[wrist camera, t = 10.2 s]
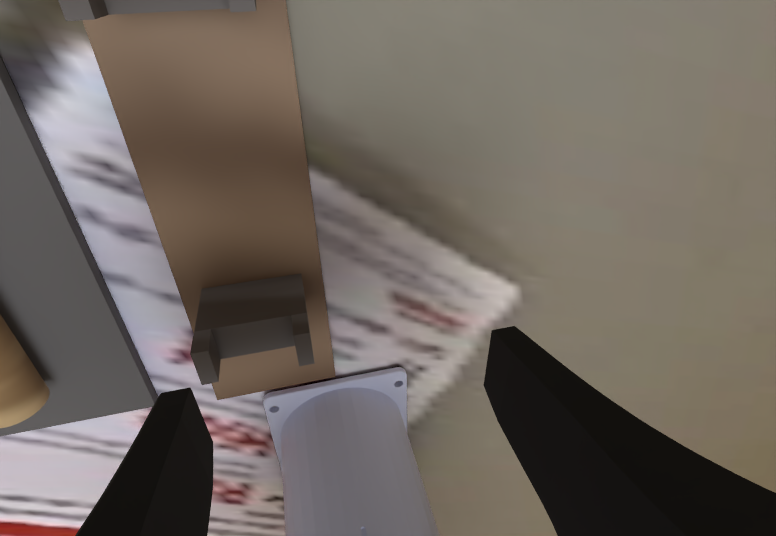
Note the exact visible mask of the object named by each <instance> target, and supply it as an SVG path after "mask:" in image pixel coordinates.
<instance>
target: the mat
mask: <svg viewBox="0 0 776 536" xmlns="http://www.w3.org/2000/svg"><path fill="white" fill-rule="evenodd" d="M0 314H1V316H2V317H3V319H4V320H5V322H6V323H7V325H8V327H9V328H10V330H11V331H12V333H13V334H14V336H15V337H16V339H17V340H18V342H19V343H20V345H21V347H22V348H23V350H24V351H25V353H26V354H27V356H28V357H29V359H30V360H31V362H32V363H33V365H34V367H35V368H36V370H37V371H38V373H39V374H40V376H41V377H42V379H43V380H44V382H45V383H46V385H47V387H48V388H49V391H50V394H49V398H48V400H47V401H46V403H45V404H44V406H43V407H42V408H41V409H40V410H39V411H37V412H36V413H35V414H34V415H32V416H31V417H29V418H28V419H26V420H24V421H22V422H20V423H18V424H15V425H13V426H9V427H5V428H0V436H4V435H9V434H15V433H20V432H25V431H30V430H35V429H40V428H45V427H51V426H56V425H61V424H66V423H71V422H76V421H81V420H87V419H92V418H97V417H102V416H107V415H112V414H117V413H123V412H128V411H133V410H138V409H143V408H148V407H153V406H154V404H155V402H156V400H157V398H158V396H157V394H156V392H155V390H154V388H153V386H152V383H151V381H150V379H149V377H148V375H147V373H146V370H145V368H144V366H143V364H142V362H141V360H140V357H139V355H138V353H137V351H136V349H135V347H134V344H133V342H132V340H131V338H130V336H129V334H128V331H127V329H126V327H125V325H124V323H123V321H122V318H121V316H120V314H119V312H118V310H117V308H116V305H115V303H114V301H113V299H112V297H111V295H110V292H109V290H108V288H107V286H106V284H105V282H104V280H103V277H102V275H101V273H100V271H99V269H98V267H97V264H96V262H95V260H94V258H93V256H92V254H91V251H90V249H89V247H88V245H87V243H86V241H85V238H84V236H83V234H82V232H81V230H80V228H79V225H78V223H77V221H76V219H75V217H74V215H73V212H72V210H71V208H70V206H69V204H68V202H67V199H66V197H65V195H64V193H63V191H62V189H61V186H60V184H59V182H58V180H57V178H56V176H55V174H54V171H53V169H52V167H51V165H50V163H49V161H48V158H47V156H46V154H45V152H44V150H43V148H42V145H41V143H40V141H39V139H38V137H37V135H36V132H35V130H34V128H33V126H32V124H31V122H30V119H29V117H28V115H27V113H26V111H25V109H24V106H23V104H22V102H21V100H20V98H19V96H18V93H17V91H16V89H15V87H14V85H13V83H12V80H11V78H10V76H9V74H8V72H7V70H6V67H5V65H4V63H3V61H2V59H1V57H0Z"/></svg>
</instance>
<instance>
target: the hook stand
mask: <svg viewBox="0 0 776 536" xmlns="http://www.w3.org/2000/svg"><path fill="white" fill-rule="evenodd" d="M58 1H59V4H60V6H61V9H62V12H63V14H64V17H65V20H66V21H76V20H83V23H84V26H85V29H86V31H87V34H88V37H89V40H90V43H91V46H92V48H93V51H94V54H95V57H96V60H97V62H98V65H99V68H100V71H101V74H102V77H103V79H104V82H105V85H106V88H107V91H108V93H109V96H110V99H111V102H112V105H113V107H114V110H115V113H116V116H117V119H118V122H119V124H120V127H121V130H122V133H123V136H124V138H125V141H126V144H127V147H128V150H129V152H130V155H131V158H132V161H133V164H134V167H135V169H136V172H137V175H138V178H139V181H140V183H141V186H142V189H143V192H144V195H145V198H146V200H147V203H148V206H149V209H150V212H151V214H152V217H153V220H154V223H155V226H156V228H157V231H158V234H159V237H160V240H161V243H162V245H163V248H164V251H165V254H166V257H167V259H168V262H169V265H170V268H171V271H172V273H173V276H174V279H175V282H176V285H177V288H178V290H179V293H180V296H181V299H182V302H183V304H184V307H185V310H186V313H187V316H188V319H189V321H190V324H191V327H192V330H193V333H194V336H193V341H192V347H191V353H190V354H191V357H192V360H193V362H194V365H195V368H196V370H197V373H198V376H199V378H200V381H201V384H202V385H204V384H210V383H212V386H213V389H214V392H215V394H216V397H217V400H220V399H225V398H230V397H235V396H240V395H246V394H251V393H256V392H261V391H266V390H271V389H276V388H281V387H286V386H291V385H296V384H302V383H307V382H312V381H317V380H322V379H327V378H332V377H336V376H335V368H334V360H333V353H332V345H331V338H330V330H329V323H328V315H327V308H326V300H325V293H324V285H323V278H322V270H321V263H320V255H319V248H318V240H317V233H316V225H315V218H314V210H313V202H312V195H311V187H310V180H309V172H308V165H307V157H306V150H305V142H304V135H303V127H302V120H301V112H300V105H299V97H298V90H297V82H296V75H295V67H294V60H293V52H292V44H291V37H290V29H289V22H288V14H287V7H286V0H58Z"/></svg>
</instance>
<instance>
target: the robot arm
mask: <svg viewBox="0 0 776 536" xmlns="http://www.w3.org/2000/svg"><path fill="white" fill-rule="evenodd" d="M397 381H399V382H397ZM484 387H485V389H486V392H487V395H488V397H489V400H490V403H491V405H492V408H493V410H494V412H495V415H496V417H497V420H498V422H499V424H500V426H501V428H502V430H503V432H504V434H505V435H506V437H507V439H508V441H509V443H510V445H511V447H512V449H513V450H514V452H515V454H516V456H517V458H518V460H519V461H520V463H521V465H522V467H523V469H524V471H525V472H526V474H527V476H528V478H529V480H530V481H531V483H532V485H533V487H534V489H535V491H536V492H537V494H538V496H539V498H540V500H541V502H542V503H543V505H544V507H545V509H546V511H547V513H548V515H549V518H550V520H551V522H552V524H553V526H554V528H555V531H556V533H557V535H558V536H776V493H774V492H772V491H770V490H768V489H766V488H763V487H761V486H759V485H757V484H755V483H753V482H751V481H749V480H747V479H745V478H743V477H741V476H739V475H737V474H735V473H733V472H731V471H729V470H727V469H725V468H723V467H721V466H720V465H718V464H716V463H714V462H712V461H710V460H708V459H706V458H704V457H702V456H701V455H699V454H697V453H695V452H693V451H692V450H690V449H688V448H686V447H684V446H683V445H681V444H679V443H678V442H676V441H674V440H672V439H671V438H669V437H667V436H666V435H664V434H662V433H661V432H659V431H657V430H656V429H654V428H652V427H651V426H649V425H648V424H646V423H644V422H643V421H641V420H640V419H638V418H637V417H635V416H634V415H632V414H631V413H629V412H628V411H626V410H625V409H623V408H622V407H620V406H619V405H617V404H616V403H614V402H613V401H611V400H610V399H609V398H607V397H606V396H604V395H603V394H601V393H600V392H599V391H597V390H596V389H595V388H593V387H592V386H590V385H589V384H588V383H586V382H585V381H584V380H582V379H581V378H580V377H578V376H577V375H576V374H574V373H573V372H572V371H571V370H569V369H568V368H567V367H565V366H564V365H563V364H562V363H560V362H559V361H558V360H556V359H555V358H554V357H553V356H551V355H550V354H549V353H548V352H546V351H545V350H544V349H543V348H541V347H540V346H539V345H538V344H536V343H535V342H534V341H533V340H531V339H530V338H529V337H528V336H526V335H525V334H524V333H523V332H521V331H520V330H519V329H518V328H516V327H515V326H512V327H507V328H502V329H496V330H492V333H491V340H490V347H489V354H488V360H487V367H486V374H485V380H484ZM263 405H264V409H265V413H266V416H267V420H268V424H269V427H270V431H271V435H272V438H273V442H274V446H275V449H276V453H277V457H278V460H279V464H280V468H281V471H282V475H283V494H284V514H285V534H286V536H440V535H439V532H438V528H437V525H436V522H435V519H434V516H433V513H432V510H431V507H430V503H429V500H428V497H427V494H426V491H425V488H424V485H423V482H422V478H421V475H420V472H419V469H418V466H417V463H416V460H415V457H414V453H413V450H412V447H411V444H410V441H409V438H408V435H407V375H406V372H405V369H403V368H401V367H396V368H391V369H386V370H381V371H376V372H370V373H365V374H360V375H355V376H350V377H345V378H340V379H335V380H330V381H325V382H320V383H315V384H310V385H305V386H300V387H294V388H289V389H284V390H279V391H274V392H270V393H267V394H266V395H265V396H264V397H263ZM273 406H276V407H273ZM212 490H213V441H212V439H211V436H210V434H209V431H208V429H207V426H206V424H205V422H204V419H203V417H202V414H201V412H200V409H199V407H198V405H197V402H196V400H195V397H194V395H193V392H192V390H191V388H185V389H180V390H175V391H170V392H164V393H161V394H160V396H159V397H158V398H157V400H156V402H155V404H154V406H153V407H152V409H151V411H150V413H149V415H148V417H147V419H146V420H145V422H144V424H143V426H142V428H141V430H140V431H139V433H138V435H137V437H136V439H135V440H134V442H133V444H132V446H131V447H130V449H129V451H128V453H127V454H126V456H125V458H124V459H123V461H122V463H121V464H120V466H119V468H118V469H117V471H116V473H115V474H114V476H113V478H112V479H111V481H110V483H109V484H108V486H107V488H106V489H105V491H104V493H103V494H102V496H101V497H100V499H99V501H98V502H97V504H96V505H95V507H94V508H93V510H92V511H91V513H90V514H89V516H88V517H87V519H86V520H85V522H84V523H83V525H82V526H81V528H80V529H79V531H78V532H77V534H76V535H75V536H207V533H208V525H209V516H210V508H211V499H212Z"/></svg>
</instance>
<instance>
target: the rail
mask: <svg viewBox="0 0 776 536" xmlns="http://www.w3.org/2000/svg"><path fill="white" fill-rule="evenodd" d="M49 394H50V391H49V388H48V387H47V385H46V383H45V382H44V380H43V379H42V377H41V376H40V374H39V373H38V371H37V370H36V368H35V367H34V365H33V363H32V362H31V360H30V359H29V357H28V356H27V354H26V353H25V351H24V350H23V348H22V347H21V345H20V343H19V342H18V340H17V339H16V337H15V336H14V334H13V333H12V331H11V330H10V328H9V327H8V325H7V323H6V322H5V320H4V319H3V317H2V316H1V314H0V428H5V427H9V426H13V425H15V424H18V423H20V422H22V421H24V420H26V419H28V418H29V417H31V416H32V415H34V414H35V413H36V412H37V411H39V410H40V409H41V408H42V407H43V406H44V404H45V403H46V401H47V400H48V398H49Z"/></svg>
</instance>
